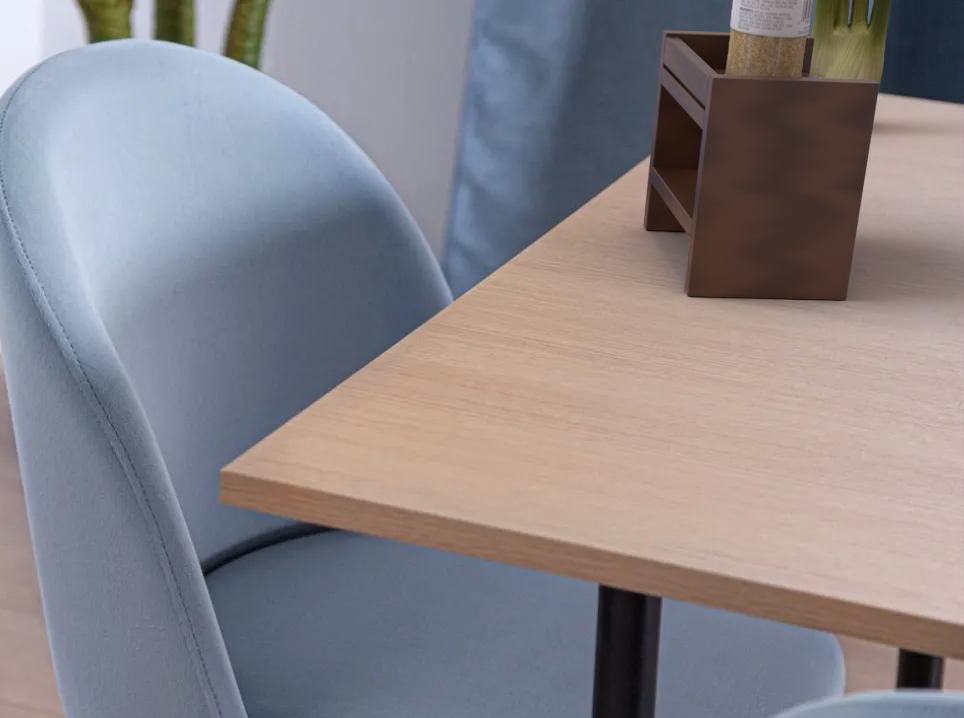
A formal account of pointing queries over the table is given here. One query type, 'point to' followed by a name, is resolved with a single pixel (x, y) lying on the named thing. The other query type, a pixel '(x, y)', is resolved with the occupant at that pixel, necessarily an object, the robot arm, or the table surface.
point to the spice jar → (768, 37)
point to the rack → (758, 171)
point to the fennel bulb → (849, 39)
